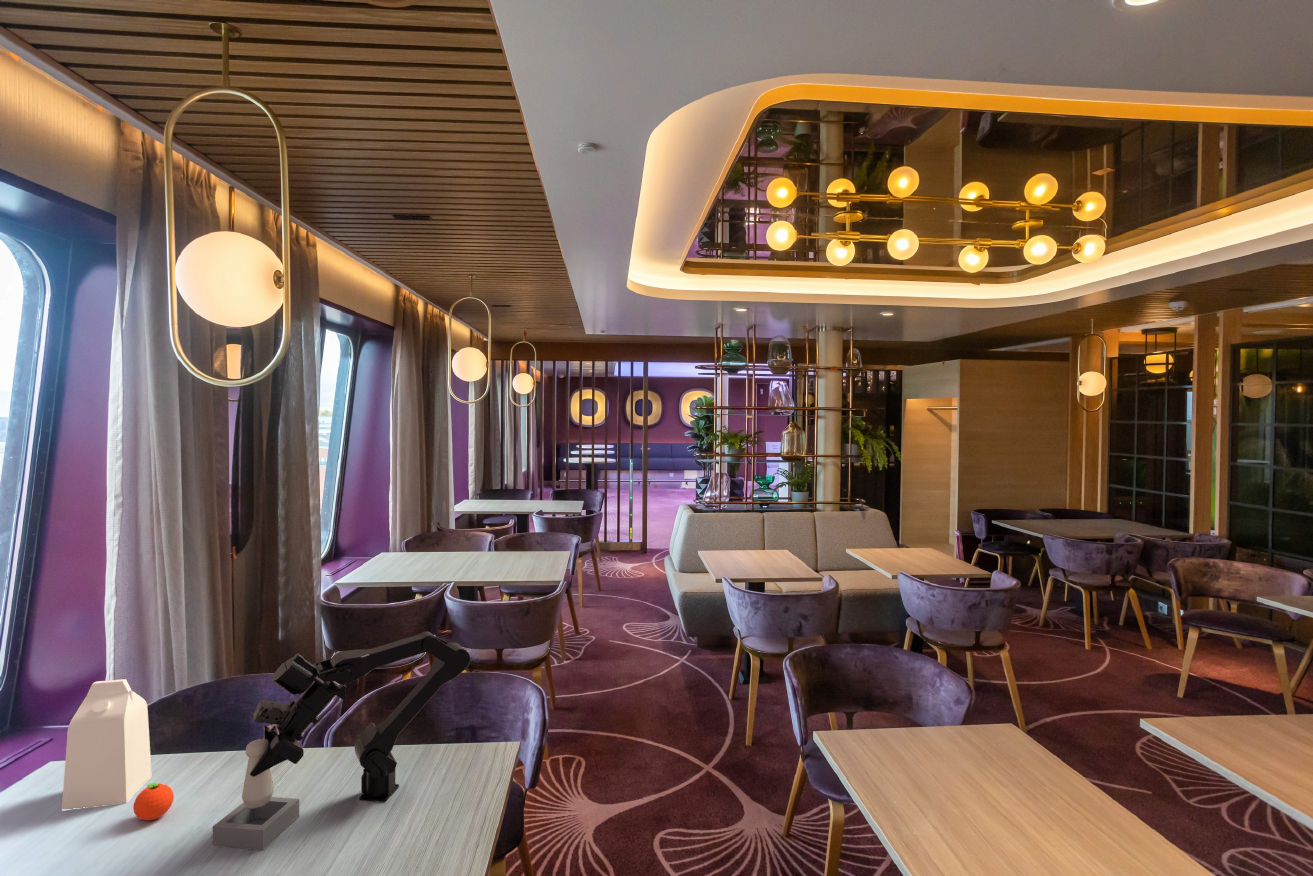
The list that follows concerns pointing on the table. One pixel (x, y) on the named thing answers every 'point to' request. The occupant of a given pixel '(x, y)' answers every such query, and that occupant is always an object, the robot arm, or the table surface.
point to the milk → (107, 747)
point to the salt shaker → (257, 777)
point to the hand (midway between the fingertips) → (250, 771)
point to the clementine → (153, 801)
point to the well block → (250, 836)
